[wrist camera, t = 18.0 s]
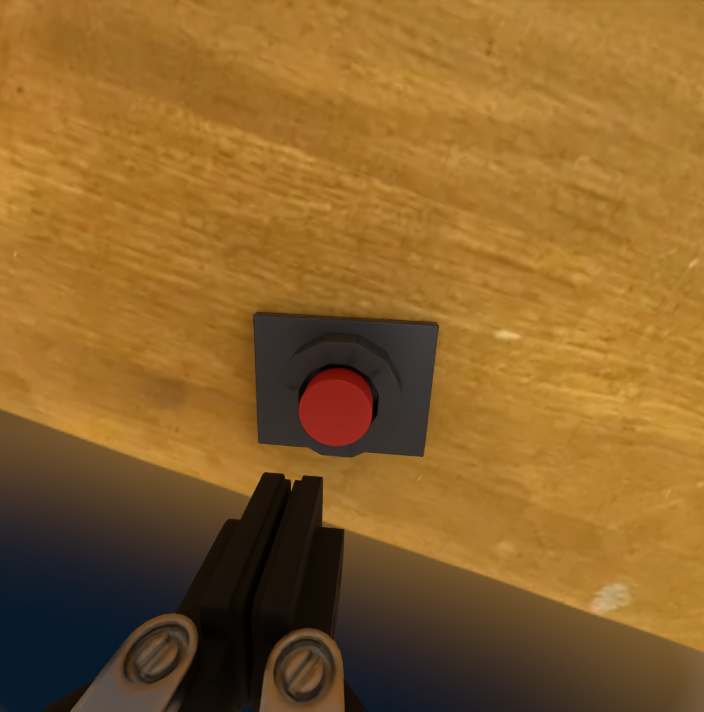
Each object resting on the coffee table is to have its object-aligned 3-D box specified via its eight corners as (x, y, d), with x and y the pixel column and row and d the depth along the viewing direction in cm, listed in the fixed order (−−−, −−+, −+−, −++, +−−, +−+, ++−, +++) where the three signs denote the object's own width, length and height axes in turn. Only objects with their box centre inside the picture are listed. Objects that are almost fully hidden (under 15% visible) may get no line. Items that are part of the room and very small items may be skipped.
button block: (261, 438, 23) (247, 460, 21) (256, 311, 21) (240, 321, 18) (422, 450, 22) (427, 476, 20) (437, 322, 20) (444, 333, 18)
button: (305, 426, 20) (298, 443, 18) (305, 364, 19) (298, 376, 17) (371, 432, 20) (369, 449, 18) (374, 369, 19) (374, 382, 17)
